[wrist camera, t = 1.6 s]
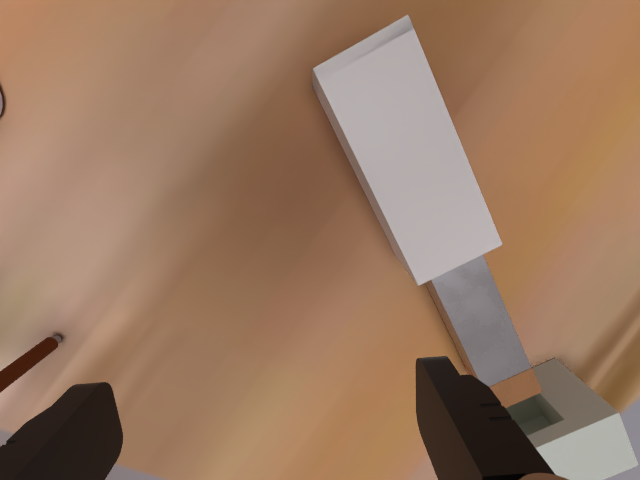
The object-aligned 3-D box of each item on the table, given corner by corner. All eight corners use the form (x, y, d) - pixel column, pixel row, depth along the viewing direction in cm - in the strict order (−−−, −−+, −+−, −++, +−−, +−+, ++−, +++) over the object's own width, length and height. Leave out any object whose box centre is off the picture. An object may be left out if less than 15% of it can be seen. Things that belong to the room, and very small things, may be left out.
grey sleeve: (385, 45, 27) (407, 14, 21) (462, 224, 31) (502, 244, 24) (312, 86, 28) (312, 68, 21) (396, 257, 31) (418, 285, 25)
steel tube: (392, 85, 27) (406, 74, 23) (514, 362, 32) (542, 391, 28) (342, 112, 27) (348, 106, 23) (471, 381, 33) (493, 413, 29)
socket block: (555, 357, 34) (618, 412, 27) (572, 401, 35) (638, 465, 28) (438, 410, 35) (469, 475, 28) (459, 451, 36) (495, 524, 29)
